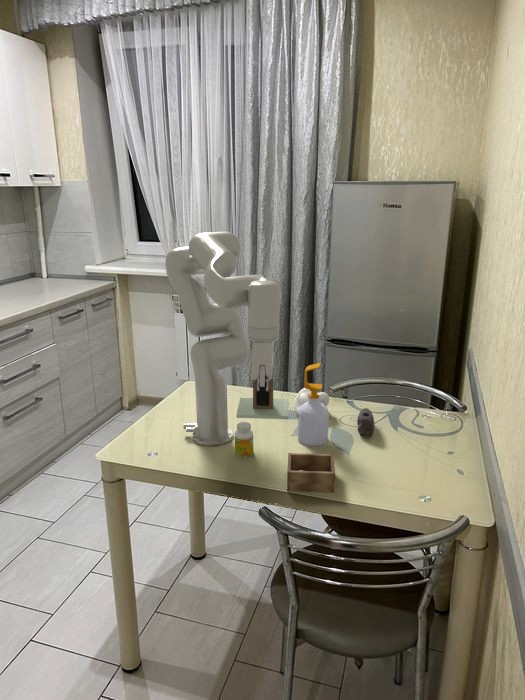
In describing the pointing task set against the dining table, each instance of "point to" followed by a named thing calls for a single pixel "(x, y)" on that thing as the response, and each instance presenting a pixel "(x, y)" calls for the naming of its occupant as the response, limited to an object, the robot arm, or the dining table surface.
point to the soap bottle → (313, 415)
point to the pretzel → (303, 398)
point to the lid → (273, 411)
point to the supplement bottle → (244, 440)
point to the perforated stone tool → (365, 423)
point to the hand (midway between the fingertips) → (263, 401)
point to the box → (311, 472)
